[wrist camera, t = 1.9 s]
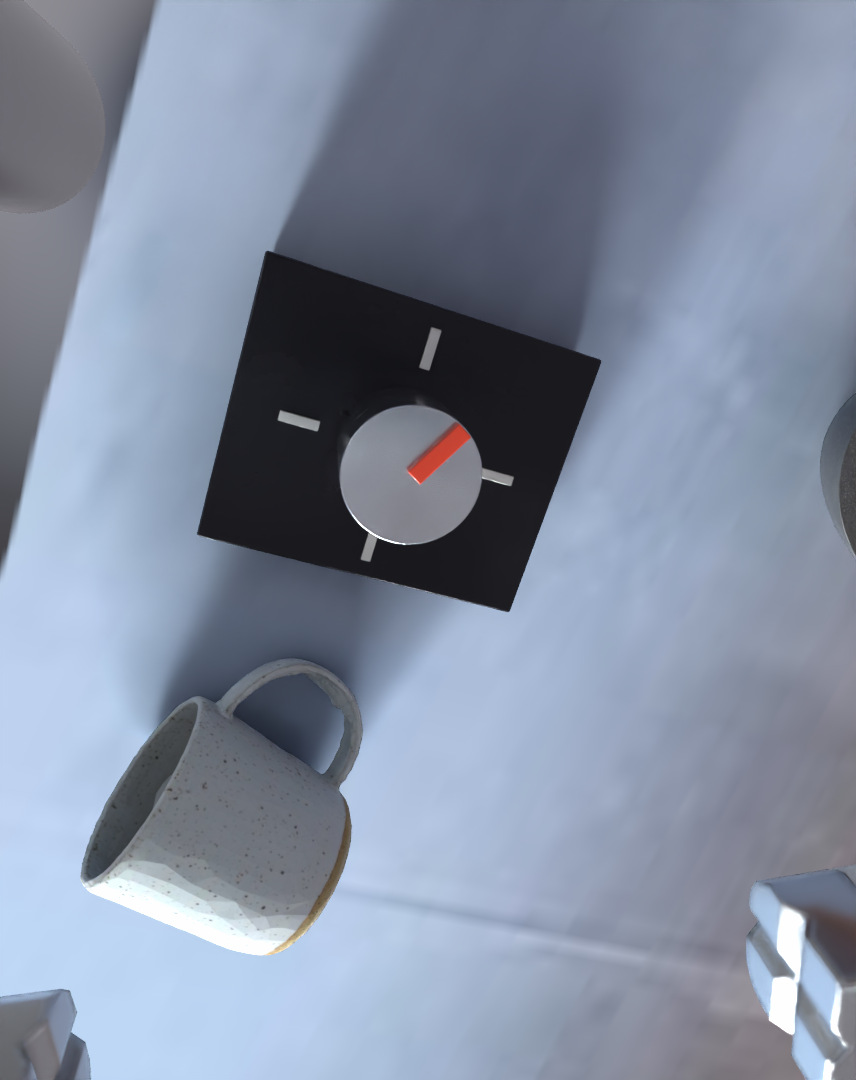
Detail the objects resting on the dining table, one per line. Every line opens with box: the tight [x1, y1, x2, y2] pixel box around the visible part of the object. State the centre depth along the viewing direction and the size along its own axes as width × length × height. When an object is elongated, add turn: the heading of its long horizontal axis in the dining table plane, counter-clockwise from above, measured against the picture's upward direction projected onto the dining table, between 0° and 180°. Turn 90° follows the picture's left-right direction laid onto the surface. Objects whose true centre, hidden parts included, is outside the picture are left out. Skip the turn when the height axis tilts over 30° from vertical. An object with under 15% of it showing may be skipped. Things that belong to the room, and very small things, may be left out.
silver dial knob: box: [336, 386, 482, 544], centre depth 26 cm, size 4×4×4 cm
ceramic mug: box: [81, 658, 363, 955], centre depth 31 cm, size 11×8×8 cm
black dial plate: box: [197, 251, 601, 612], centre depth 30 cm, size 12×10×3 cm
